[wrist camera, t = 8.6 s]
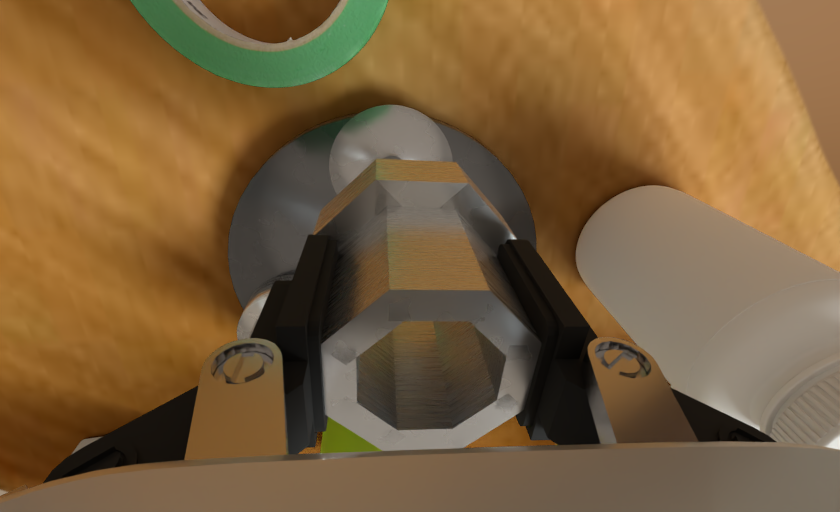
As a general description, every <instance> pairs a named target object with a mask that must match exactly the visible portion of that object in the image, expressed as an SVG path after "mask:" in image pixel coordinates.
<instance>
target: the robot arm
mask: <svg viewBox="0 0 840 512" xmlns="http://www.w3.org/2000/svg"><path fill="white" fill-rule="evenodd" d="M337 257H338V242H337V240H330V235H312V234H309V235H308V237H307V240H306V242H305V245H304V248H303V251H302V254H301V256H300V259H299V262H298V265H297V268H296V270H295V273H294V276H293V279H292V280H276V281H275V282H274V283H273V285H272V288H271V290H270V292H269V295H268V297H267V299H266V302H265V304H264V306H263V309H262V311H261V313H260V316H259V318H258V320H257V323H256V325H255V327H254V330H253V332H252V334H251V337H250V338H246V339H241V340H236V341H233V342H230V343H228V344H226V345H223V346H221V347H220V348H218V349H217V350H215V351H214V352H212V354H211V355H210V356H209V357H208V358H207V359H206V360H205V362H204V365H203V367H202V370H201V375H200V380H199V386H197V387H195V388H193V389H191V390H189V391H187V392H185V393H184V394H182V395H180V396H178V397H176V398H174V399H172V400H170V401H169V402H167V403H165V404H163V405H161V406H159V407H157V408H156V409H154V410H152V411H150V412H148V413H146V414H144V415H142V416H141V417H139V418H137V419H135V420H133V421H131V422H129V423H128V424H126V425H124V426H122V427H120V428H118V429H116V430H114V431H113V432H111V433H109V434H107V435H105V436H103V437H101V438H99V439H98V440H96V441H94V442H92V443H90V444H88V445H86V446H85V447H83V448H81V449H79V450H78V451H76V452H75V453H73V454H72V455H70V456H69V457H67V458H66V459H65V460H64V461H62V462H61V463H60V464H59V465H58V466H57V467H56V468H55V469H54V470H52V472H51V473H50V474H49V476H48V477H47V478H46V480H45V481H44V482H43V484H40V485H37V486H34V487H31V488H28V487H27V485H23V486H21V487H19V488H17V489H15V490H12V491H10V492H8V493H6V494H3V495H1V496H0V512H840V450H839V449H834V448H828V447H823V446H817V445H806V444H795V443H784V442H776V441H775V440H774V439H772V438H771V437H770V436H768V435H766V434H765V433H763V432H761V431H759V430H758V429H756V428H754V427H752V426H750V425H748V424H746V423H744V422H742V421H739V420H737V419H735V418H733V417H731V416H729V415H727V414H725V413H723V412H721V411H719V410H717V409H714V408H712V407H710V406H708V405H706V404H704V403H702V402H700V401H698V400H696V399H694V398H692V397H689V396H687V395H685V394H683V393H681V392H679V391H677V390H675V389H673V388H671V387H670V386H669V385H668V383H667V381H666V379H665V377H664V375H663V373H662V371H661V369H660V368H659V366H658V364H657V362H656V361H655V360H654V358H653V357H652V356H651V355H650V354H649V353H647V352H646V351H645V350H644V349H642V348H640V347H639V346H637V345H635V344H633V343H631V342H628V341H626V340H622V339H618V338H614V337H601V338H598V337H597V336H596V334H595V333H594V331H593V330H592V329H591V327H590V326H589V324H588V323H587V321H586V320H585V319H584V317H583V316H582V314H581V313H580V312H579V310H578V309H577V307H576V306H575V305H574V303H573V302H572V300H571V299H570V298H569V296H568V295H567V293H566V292H565V291H564V289H563V288H562V286H561V285H560V284H559V282H558V281H557V279H556V278H555V277H554V275H553V274H552V272H551V271H550V270H549V268H548V267H547V265H546V264H545V263H544V261H543V260H542V258H541V257H540V256H539V254H538V253H537V252H536V250H535V249H534V247H533V246H532V245H531V243H530V242H529V241H528V240H524V239H507V241H506V242H505V244H500V245H499V248H498V253H497V259H498V261H499V262H500V264H501V266H502V268H503V270H504V272H505V274H506V276H507V278H508V280H509V282H510V284H511V286H512V287H513V289H514V291H515V293H516V295H517V297H518V299H519V301H520V303H521V305H522V307H523V309H524V311H525V312H526V314H527V316H528V318H529V320H530V322H531V324H532V326H533V328H534V330H535V332H536V334H537V336H538V337H539V339H540V341H541V343H542V344H541V348H540V352H539V355H538V359H537V363H536V366H535V370H534V374H533V378H532V381H531V385H530V389H529V392H528V396H527V400H526V404H525V407H524V410H523V411H521V412H520V413H518V414H517V415H516V418H517V420H518V423H519V425H520V426H526V428H527V431H528V434H529V437H530V439H531V440H552V441H553V442H555V445H545V446H514V447H482V448H452V449H422V450H394V451H368V452H342V453H316V454H298V453H299V452H301V451H302V450H303V449H304V448H306V447H315V445H316V439H317V432H325V431H326V428H327V421H328V416H327V415H325V405H324V389H323V373H322V357H321V341H322V335H323V330H324V325H325V320H326V315H327V309H328V304H329V299H330V294H331V288H332V283H333V278H334V273H335V268H336V262H337Z"/></svg>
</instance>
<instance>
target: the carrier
mask: <svg viewBox="0 0 840 512" xmlns="http://www.w3.org/2000/svg"><path fill="white" fill-rule="evenodd" d="M375 159H397V160H420V161H443V162H456V163H457V164H458V165H459V166H460V167H461V168H462V170H463V171H464V172H465V173H466V174H467V175H468V177H469V178H470V179H471V180H472V181H473V183H474V184H475V185H476V186H477V187H478V188H479V190H480V191H481V192H482V193H483V194H484V196H485V197H486V198H487V199H488V200H489V201H490V203H491V204H492V205H493V206H494V207H495V208H496V210H497V211H498V212H499V213H500V214H501V216H502V217H503V219H504V220H505V222H506V223H507V225H508V226H509V228H510V229H511V231H512V232H513V234H514V235H515V237H516V238H517V239H524V240H528V241H529V242H530V243H531V245H532V246H533V247H534V249H535V250H536V234H535V227H534V221H533V218H532V215H531V211H530V208H529V205H528V203H527V201H526V198H525V196H524V194H523V192H522V190H521V188H520V187H519V185H518V184H517V182H516V181H515V179H514V178H513V176H512V175H511V173H510V172H509V171H508V170H507V169H506V168H505V166H504V165H503V164H502V163H501V162H500V161H499V160H498V159H497V158H496V157H495V156H494V155H493V154H492V153H491V152H490V151H489V150H488V149H487V148H485V147H484V146H483V145H482V144H481V143H479V142H478V141H477V140H476V139H474V138H472V137H471V136H469V135H467V134H466V133H464V132H462V131H461V130H459V129H457V128H455V127H453V126H451V125H448V124H446V123H443V122H441V121H439V120H436V119H432V118H429V117H427V116H426V115H424V114H423V113H421V112H419V111H417V110H415V109H412V108H409V107H406V106H401V105H381V106H375V107H372V108H369V109H367V110H364V111H362V112H360V113H357V114H351V115H346V116H342V117H339V118H336V119H332V120H329V121H326V122H323V123H321V124H319V125H317V126H315V127H312V128H310V129H308V130H306V131H304V132H302V133H301V134H299V135H298V136H296V137H295V138H293V139H292V140H290V141H289V142H287V143H286V144H285V145H283V146H282V147H281V148H280V149H279V150H278V151H277V152H275V153H274V154H273V155H272V156H271V157H270V158H269V159H268V160H267V162H266V163H265V164H264V165H263V166H262V168H261V169H260V170H259V171H258V172H257V174H256V175H255V176H254V177H253V178H252V180H251V181H250V183H249V184H248V186H247V188H246V189H245V191H244V193H243V194H242V196H241V198H240V200H239V203H238V205H237V208H236V210H235V213H234V215H233V219H232V223H231V228H230V232H229V242H228V260H229V270H230V275H231V279H232V283H233V287H234V290H235V292H236V295H237V297H238V299H239V302H240V304H241V306H242V308H243V309H244V311H243V314H242V316H241V318H240V320H239V322H238V326H237V338H238V340H241V339H246V338H250V337H251V334H252V332H253V330H254V327H255V325H256V323H257V320H258V318H259V316H260V313H261V311H262V309H263V306H264V304H265V302H266V299H267V297H268V295H269V292H270V290H271V288H272V285H273V283H274V282H275V281H276V280H292V279H293V276H294V273H295V270H296V268H297V265H298V262H299V259H300V256H301V254H302V251H303V248H304V245H305V242H306V240H307V237H308V235H309V234H312V235H313V232H314V229H315V226H316V223H317V220H318V217H319V214H320V211H321V210H322V209H323V208H324V207H325V206H326V205H327V204H328V203H329V202H330V201H331V200H332V199H333V198H334V197H336V196H337V195H338V194H339V193H340V192H341V191H342V190H343V189H344V188H345V187H346V186H347V185H349V184H350V183H351V182H352V181H353V180H354V179H355V178H356V177H357V176H358V175H359V174H360V173H361V172H363V171H364V170H365V169H366V168H367V167H368V166H369V165H370V164H371V163H372V162H373V161H374V160H375Z"/></svg>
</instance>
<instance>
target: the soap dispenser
mask: <svg viewBox="0 0 840 512" xmlns="http://www.w3.org/2000/svg"><path fill="white" fill-rule="evenodd" d="M368 451H382V450H380V449H379V448H377V447H376V446H374V445H373V444H371V443H369V442H368V441H366V440H365V439H363V438H361V437H360V436H358V435H357V434H355V433H354V432H352V431H350V430H349V429H347V428H346V427H344V426H342V425H341V424H339V423H338V422H336V421H335V420H333V419H331V418H330V417H328V421H327V428H326V431H325V432H323V435H322V442H321V450H320V453H342V452H368Z"/></svg>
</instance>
